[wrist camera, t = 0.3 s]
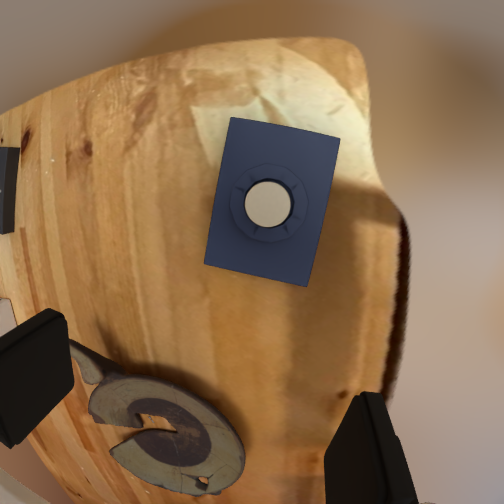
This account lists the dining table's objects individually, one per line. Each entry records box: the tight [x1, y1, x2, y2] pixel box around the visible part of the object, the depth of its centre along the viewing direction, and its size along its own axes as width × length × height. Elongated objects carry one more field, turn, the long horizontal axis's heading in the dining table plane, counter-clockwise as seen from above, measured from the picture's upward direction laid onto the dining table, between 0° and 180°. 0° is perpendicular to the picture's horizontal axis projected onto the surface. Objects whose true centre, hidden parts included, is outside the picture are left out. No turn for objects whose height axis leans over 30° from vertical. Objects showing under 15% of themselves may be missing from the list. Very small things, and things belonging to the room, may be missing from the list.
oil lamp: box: [69, 339, 245, 497], centre depth 34 cm, size 22×30×8 cm
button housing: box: [204, 117, 340, 287], centre depth 28 cm, size 14×10×4 cm
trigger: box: [245, 182, 290, 227], centre depth 25 cm, size 4×4×2 cm
